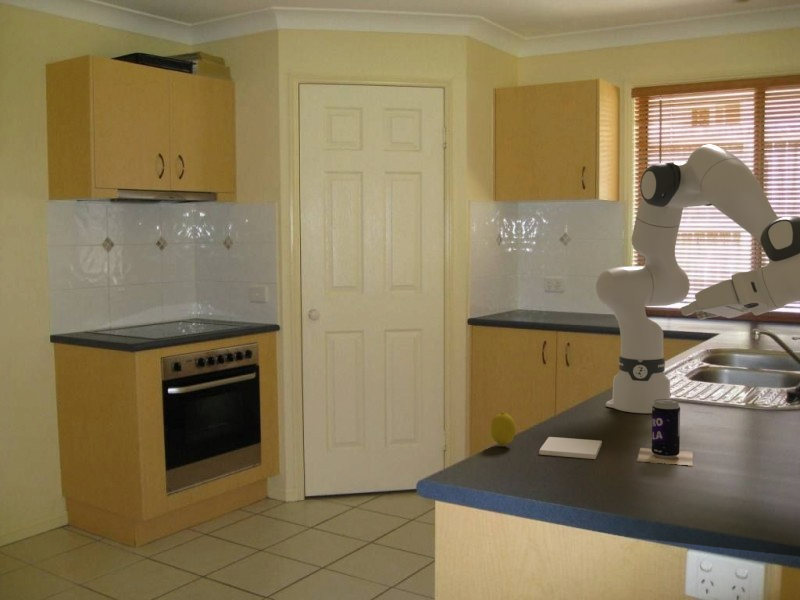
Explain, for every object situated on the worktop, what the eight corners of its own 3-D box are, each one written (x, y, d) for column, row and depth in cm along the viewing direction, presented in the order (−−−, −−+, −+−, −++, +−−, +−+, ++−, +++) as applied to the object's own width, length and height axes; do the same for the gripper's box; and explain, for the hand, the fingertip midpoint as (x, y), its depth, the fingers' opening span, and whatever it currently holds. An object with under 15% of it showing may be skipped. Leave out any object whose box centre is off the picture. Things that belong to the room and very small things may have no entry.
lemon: (501, 442, 188) (501, 408, 188) (520, 446, 184) (520, 411, 184) (485, 446, 184) (485, 412, 184) (505, 451, 180) (505, 415, 180)
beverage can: (657, 451, 178) (658, 397, 177) (683, 455, 174) (684, 400, 174) (647, 456, 174) (648, 401, 173) (673, 461, 170) (674, 404, 169)
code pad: (640, 448, 181) (640, 447, 181) (692, 452, 177) (692, 451, 177) (636, 461, 171) (636, 460, 171) (692, 466, 167) (692, 465, 167)
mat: (548, 441, 189) (548, 436, 189) (601, 445, 185) (601, 440, 184) (539, 454, 177) (539, 449, 177) (595, 459, 173) (595, 454, 173)
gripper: (765, 283, 172) (702, 304, 179) (736, 271, 156) (668, 294, 164) (775, 311, 170) (710, 332, 178) (746, 302, 154) (677, 324, 162)
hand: (690, 314), depth 170 cm, fingers open, 8 cm apart
